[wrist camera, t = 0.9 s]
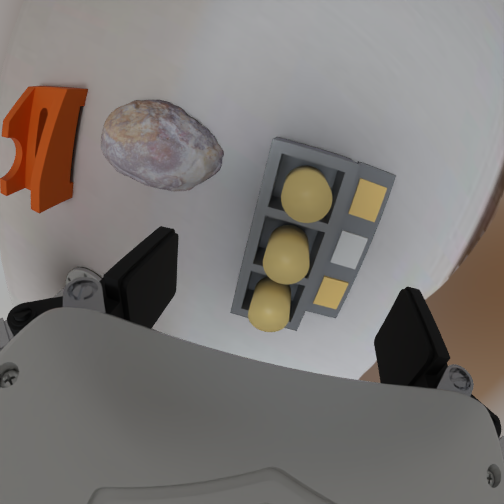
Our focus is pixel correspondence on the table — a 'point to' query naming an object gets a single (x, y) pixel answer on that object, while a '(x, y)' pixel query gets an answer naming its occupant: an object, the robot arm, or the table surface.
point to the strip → (351, 239)
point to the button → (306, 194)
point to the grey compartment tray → (293, 221)
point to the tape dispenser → (43, 143)
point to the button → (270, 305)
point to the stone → (160, 145)
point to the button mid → (287, 255)
